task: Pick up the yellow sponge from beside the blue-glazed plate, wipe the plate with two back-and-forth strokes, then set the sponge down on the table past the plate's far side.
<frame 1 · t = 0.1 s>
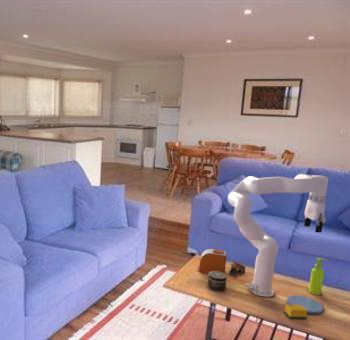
hand: (312, 229, 200), 37 cm above the table, tool pointing down, fingers open, 9 cm apart
jar: (216, 287, 208), on the table
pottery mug: (237, 275, 225), on the table
soap dispenser: (315, 292, 207), on the table
brown toaster: (211, 271, 229), on the table
plate: (304, 305, 193), on the table
sponge: (295, 315, 182), on the table
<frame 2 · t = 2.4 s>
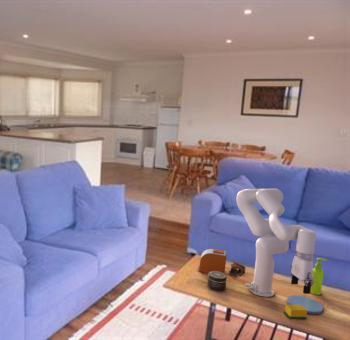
hand: (300, 288, 180), 14 cm above the table, tool pointing down, fingers open, 9 cm apart
nothing on the table moved.
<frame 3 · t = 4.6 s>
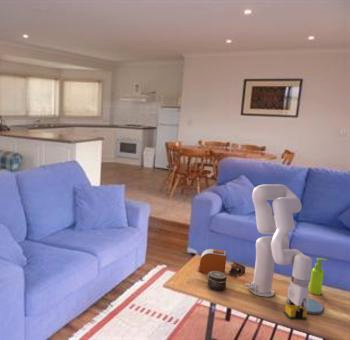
hand: (295, 314, 182), 1 cm above the table, tool pointing down, fingers closed on sponge, 5 cm apart
sponge: (295, 315, 182), on the table, touching gripper
everything else where it was.
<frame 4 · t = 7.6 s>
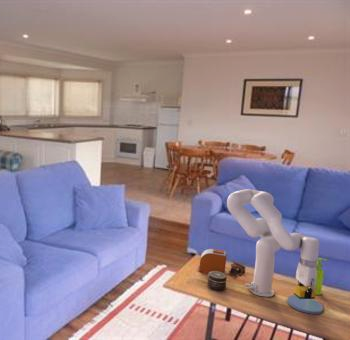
hand: (304, 295, 189), 7 cm above the table, tool pointing down, fingers closed on sponge, 5 cm apart
sponge: (304, 296, 189), point 6 cm above the table, touching gripper
everything else where it was.
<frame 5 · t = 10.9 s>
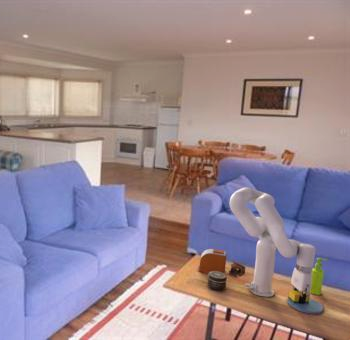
hand: (298, 299, 194), 2 cm above the table, tool pointing down, fingers closed on sponge, 5 cm apart
sponge: (298, 300, 195), point 1 cm above the table, touching gripper
everything else where it was.
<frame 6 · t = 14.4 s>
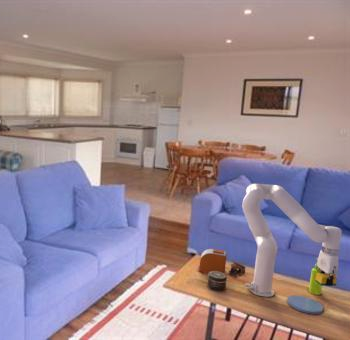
hand: (325, 282, 195), 11 cm above the table, tool pointing down, fingers closed on sponge, 5 cm apart
sponge: (325, 283, 195), point 11 cm above the table, touching gripper
everything else where it was.
when the fingers open (0 cm above the table, at t = 17.2 s): sponge stays where it is, on the table.
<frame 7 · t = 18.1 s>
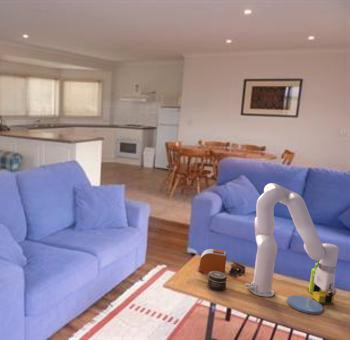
hand: (321, 297, 197), 2 cm above the table, tool pointing down, fingers open, 9 cm apart
sponge: (322, 301, 197), on the table
everything else where it was.
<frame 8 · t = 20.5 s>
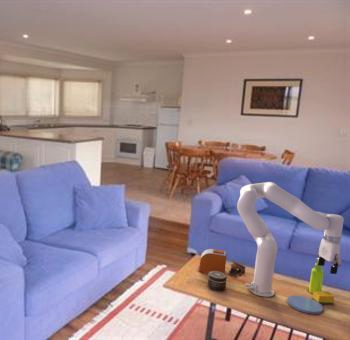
hand: (327, 269, 194), 18 cm above the table, tool pointing down, fingers open, 9 cm apart
nothing on the table moved.
at the end: sponge inside the target area (0.3 cm from its centre), on the table; the gripper is holding nothing; sponge tilted 0° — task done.
